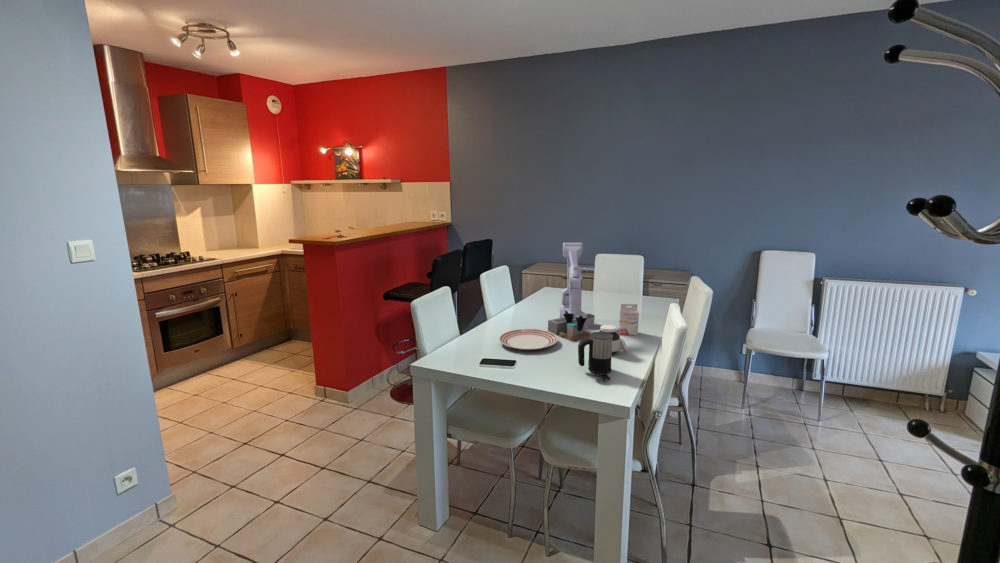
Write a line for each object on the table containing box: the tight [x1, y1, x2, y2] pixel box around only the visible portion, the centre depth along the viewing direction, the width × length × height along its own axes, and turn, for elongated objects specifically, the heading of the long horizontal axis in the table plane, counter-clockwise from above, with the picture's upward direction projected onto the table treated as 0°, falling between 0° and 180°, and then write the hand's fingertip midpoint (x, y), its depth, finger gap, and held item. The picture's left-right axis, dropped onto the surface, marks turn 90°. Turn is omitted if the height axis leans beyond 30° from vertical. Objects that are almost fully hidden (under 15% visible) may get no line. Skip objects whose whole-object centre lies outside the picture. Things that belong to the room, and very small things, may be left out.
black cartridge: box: [583, 313, 595, 329], centre depth 247 cm, size 4×7×6 cm, turn 123°
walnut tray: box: [558, 329, 591, 342], centre depth 231 cm, size 9×12×2 cm
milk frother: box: [577, 331, 613, 382], centre depth 184 cm, size 14×16×15 cm
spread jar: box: [598, 324, 628, 356], centre depth 209 cm, size 12×11×12 cm
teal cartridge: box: [567, 322, 584, 336], centre depth 231 cm, size 4×7×6 cm, turn 123°
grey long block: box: [547, 315, 579, 336], centre depth 241 cm, size 7×17×6 cm, turn 123°
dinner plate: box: [498, 328, 558, 351], centre depth 222 cm, size 27×27×3 cm
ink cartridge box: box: [618, 303, 640, 336], centre depth 234 cm, size 9×5×15 cm, turn 84°
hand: (574, 329), depth 231 cm, fingers open, 7 cm apart
